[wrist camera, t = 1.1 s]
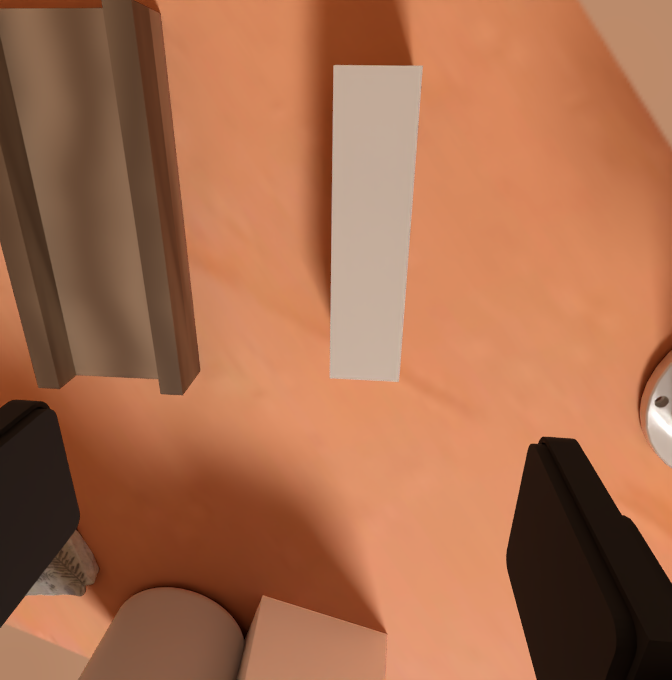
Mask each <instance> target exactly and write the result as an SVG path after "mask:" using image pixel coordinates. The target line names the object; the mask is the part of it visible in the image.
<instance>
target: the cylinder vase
mask: <svg viewBox="0 0 672 680" xmlns="http://www.w3.org/2000/svg"><path fill="white" fill-rule="evenodd" d="M244 647H245V643H244V638H243V635H242V632H241V630H240V627H239V626H238V624H237V622H236V621H235V620H234V618H233V617H232V616H231V615H230V614H229V613H228V612H227V611H226V610H225V609H224V608H223V607H222V606H220V605H219V604H217V603H216V602H214V601H213V600H211V599H209V598H207V597H205V596H203V595H201V594H199V593H196V592H193V591H190V590H186V589H181V588H173V587H158V588H152V589H147V590H144V591H141V592H139V593H137V594H135V595H133V596H132V597H130V598H129V599H128V600H127V601H126V602H125V603H124V604H123V605H122V606H121V607H120V609H119V611H118V612H117V614H116V616H115V617H114V619H113V621H112V623H111V624H110V626H109V628H108V629H107V631H106V633H105V635H104V636H103V638H102V640H101V641H100V643H99V645H98V647H97V648H96V650H95V652H94V653H93V655H92V657H91V659H90V660H89V662H88V664H87V666H86V667H85V669H84V671H83V672H82V674H81V676H80V677H79V679H78V680H236V679H237V675H238V671H239V667H240V663H241V659H242V655H243V651H244Z"/></svg>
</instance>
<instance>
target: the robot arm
mask: <svg viewBox="0 0 672 680" xmlns="http://www.w3.org/2000/svg"><path fill="white" fill-rule="evenodd" d="M640 421H641V428H642V431H643V433H644V436H645V438H646V441H647V442H648V443H649V445H650V446H651V448H652V449H653V450H654V452H655V453H656V454H657V455H658V456H659V457H660V458H661V459H662V460H663V462H664V463H665V464H667V465H668V466H669V467H671V468H672V350H671V351H670V352H669V353H668V354H667V355H666V356H665V358H664V359H663V360H662V361H661V362H660V363H659V365H658V366H657V367H656V368H655V370H654V372H653V373H652V375H651V377H650V379H649V380H648V382H647V384H646V387H645V390H644V393H643V395H642V398H641V406H640ZM79 519H80V512H79V508H78V503H77V499H76V495H75V491H74V487H73V482H72V478H71V474H70V470H69V465H68V461H67V457H66V453H65V448H64V444H63V440H62V436H61V432H60V427H59V423H58V419H57V415H56V413H55V412H54V411H53V410H51V409H50V408H49V406H48V405H47V404H46V403H44V402H42V401H28V400H12V401H10V402H8V403H6V404H5V405H4V406H2V407H1V408H0V628H1V626H2V625H3V624H4V623H5V621H6V620H7V619H8V617H9V616H10V615H11V614H12V612H13V611H14V610H15V608H16V607H17V606H18V605H19V603H20V602H21V601H22V599H23V598H24V597H25V595H26V594H27V593H28V592H29V590H30V589H31V588H32V586H33V585H34V584H35V582H36V581H37V580H38V579H39V577H40V576H41V575H42V573H43V572H44V571H45V570H46V568H47V567H48V566H49V564H50V563H51V562H52V560H53V559H54V558H55V557H56V555H57V554H58V553H59V551H60V550H61V549H62V548H63V546H64V545H65V544H66V542H67V541H68V540H69V538H70V537H71V536H72V535H73V533H74V532H75V530H76V528H77V526H78V523H79ZM506 562H507V570H508V574H509V578H510V582H511V585H512V589H513V593H514V597H515V600H516V604H517V608H518V611H519V615H520V619H521V623H522V626H523V630H524V634H525V637H526V641H527V645H528V649H529V652H530V656H531V660H532V664H533V667H534V671H535V675H536V678H537V680H672V583H671V582H670V580H669V578H668V577H667V575H666V574H665V572H664V570H663V569H662V567H661V566H660V564H659V562H658V561H657V559H656V557H655V556H654V554H653V553H652V551H651V549H650V548H649V546H648V545H647V543H646V541H645V540H644V538H643V537H642V535H641V533H640V532H639V530H638V528H637V527H636V525H635V524H634V523H633V522H632V520H631V519H630V518H628V517H626V516H624V515H621V513H620V511H619V510H618V508H617V506H616V505H615V503H614V501H613V500H612V498H611V496H610V495H609V493H608V491H607V490H606V488H605V486H604V485H603V483H602V481H601V480H600V478H599V476H598V475H597V473H596V471H595V470H594V468H593V466H592V465H591V463H590V461H589V460H588V458H587V456H586V455H585V453H584V451H583V450H582V448H581V446H580V445H579V443H578V442H577V441H576V440H575V439H570V438H556V437H542V438H541V439H540V441H539V443H538V444H530V446H529V448H528V452H527V456H526V461H525V466H524V471H523V476H522V480H521V485H520V490H519V495H518V499H517V504H516V509H515V514H514V519H513V523H512V528H511V533H510V538H509V542H508V547H507V554H506Z"/></svg>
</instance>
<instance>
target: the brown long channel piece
mask: <svg viewBox="0 0 672 680" xmlns="http://www.w3.org/2000/svg"><path fill="white" fill-rule="evenodd" d="M102 7H103V8H9V9H0V243H1V246H2V250H3V254H4V258H5V262H6V266H7V269H8V273H9V277H10V281H11V285H12V289H13V292H14V296H15V300H16V304H17V308H18V311H19V315H20V319H21V323H22V327H23V331H24V334H25V338H26V342H27V346H28V350H29V353H30V357H31V361H32V365H33V369H34V373H35V376H36V380H37V384H38V388H52V389H60V388H61V387H63V386H64V385H65V384H66V383H67V382H69V381H70V380H71V379H72V378H73V377H75V376H76V375H84V376H104V377H124V378H145V379H159V386H160V393H161V394H168V395H183V394H184V393H185V391H186V390H187V389H188V387H189V386H190V385H191V383H192V382H193V380H194V379H195V378H196V376H197V375H198V374H199V372H200V364H199V355H198V346H197V337H196V328H195V319H194V310H193V301H192V292H191V283H190V274H189V265H188V256H187V247H186V238H185V229H184V220H183V211H182V202H181V193H180V184H179V175H178V166H177V157H176V148H175V139H174V130H173V122H172V113H171V104H170V95H169V86H168V77H167V68H166V59H165V50H164V41H163V32H162V23H161V14H160V13H158V12H156V11H154V10H152V9H150V8H148V7H146V6H144V5H142V4H140V3H138V2H136V1H134V0H102Z"/></svg>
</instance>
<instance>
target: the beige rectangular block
mask: <svg viewBox="0 0 672 680" xmlns="http://www.w3.org/2000/svg"><path fill="white" fill-rule="evenodd" d="M422 69H423V66H390V65H333V148H332V232H331V316H330V378H336V379H355V380H374V381H393V382H399V374H400V361H401V348H402V334H403V321H404V308H405V295H406V281H407V268H408V255H409V241H410V228H411V215H412V202H413V188H414V175H415V162H416V148H417V135H418V122H419V108H420V95H421V82H422Z"/></svg>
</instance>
